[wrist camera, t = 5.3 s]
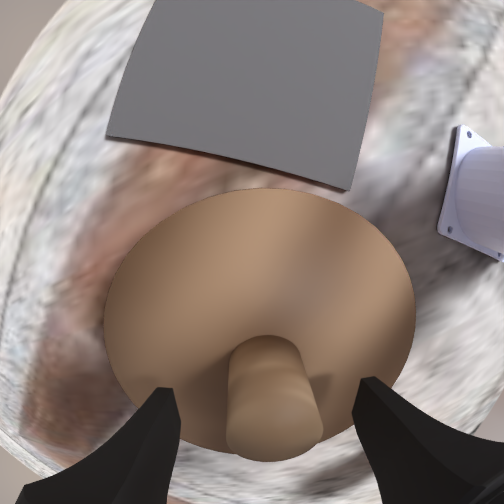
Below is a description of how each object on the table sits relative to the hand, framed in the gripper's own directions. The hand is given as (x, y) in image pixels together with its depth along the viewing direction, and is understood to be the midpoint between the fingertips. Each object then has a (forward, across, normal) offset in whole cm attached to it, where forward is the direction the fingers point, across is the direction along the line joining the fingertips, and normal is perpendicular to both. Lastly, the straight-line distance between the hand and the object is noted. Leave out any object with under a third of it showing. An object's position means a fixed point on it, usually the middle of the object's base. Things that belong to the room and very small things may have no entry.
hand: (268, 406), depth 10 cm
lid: (+3, 0, -1) cm, 3 cm away
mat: (+8, 0, -16) cm, 17 cm away
